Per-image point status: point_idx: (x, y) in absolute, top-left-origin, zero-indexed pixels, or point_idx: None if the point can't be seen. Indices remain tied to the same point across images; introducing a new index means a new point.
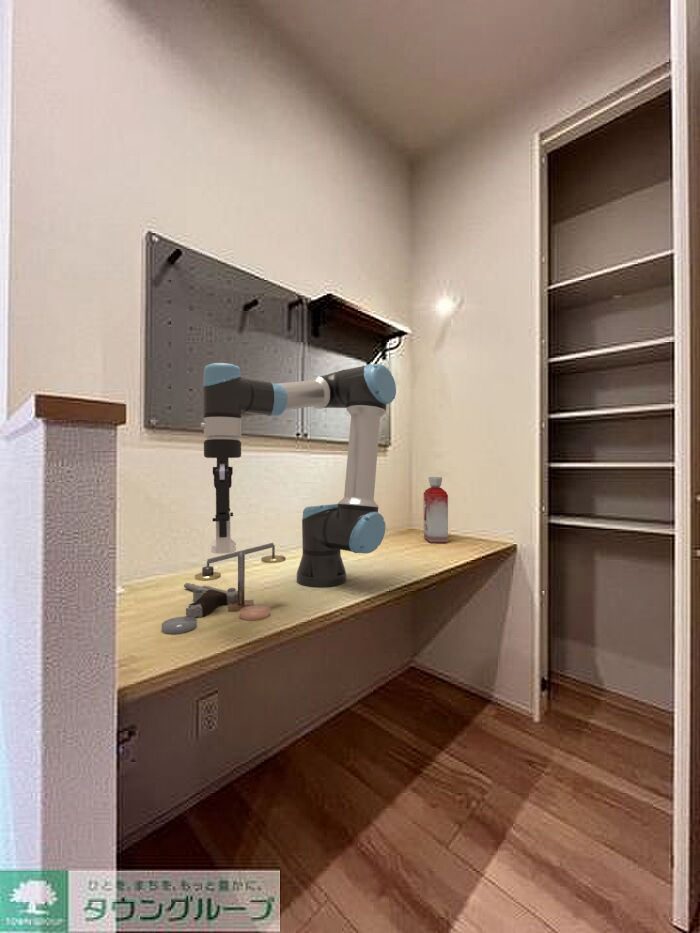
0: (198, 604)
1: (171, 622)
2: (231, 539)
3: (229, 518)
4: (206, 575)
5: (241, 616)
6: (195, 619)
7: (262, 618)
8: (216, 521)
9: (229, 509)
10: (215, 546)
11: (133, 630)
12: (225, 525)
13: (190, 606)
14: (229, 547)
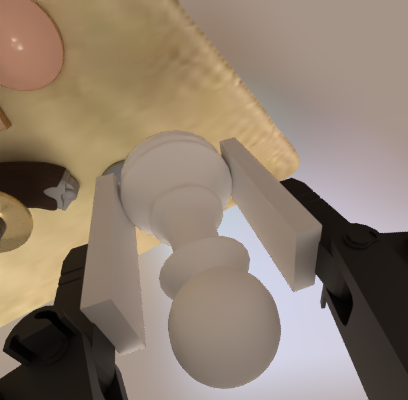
0: (48, 193)
1: None
2: (176, 174)
3: (363, 231)
4: (4, 223)
5: (55, 77)
6: (113, 170)
7: (43, 10)
8: (313, 282)
9: (53, 393)
10: (225, 207)
11: (147, 241)
12: (338, 217)
13: (62, 204)
14: (243, 148)
